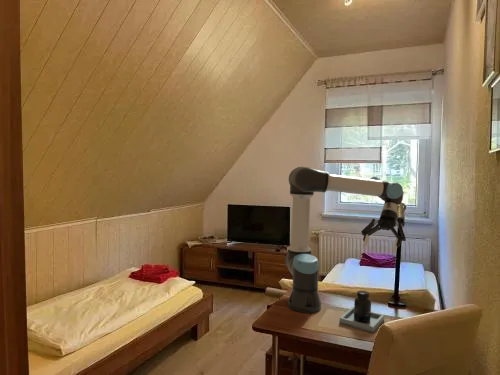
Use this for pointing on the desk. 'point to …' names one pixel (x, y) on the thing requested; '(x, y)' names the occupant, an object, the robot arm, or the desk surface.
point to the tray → (350, 321)
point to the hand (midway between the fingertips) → (378, 249)
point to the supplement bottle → (362, 307)
